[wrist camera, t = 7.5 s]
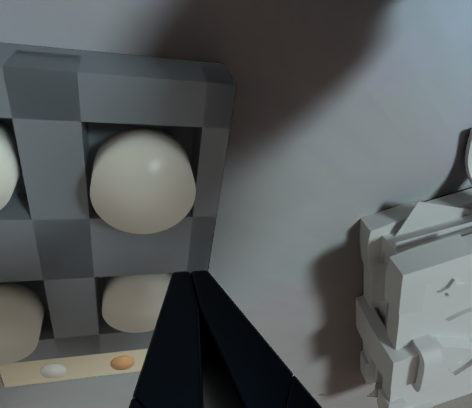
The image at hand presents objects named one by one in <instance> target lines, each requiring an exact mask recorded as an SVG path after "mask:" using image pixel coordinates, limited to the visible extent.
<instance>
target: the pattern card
mask: <svg viewBox="0 0 472 408" xmlns="http://www.w3.org/2000/svg"><path fill="white" fill-rule="evenodd" d="M147 350H148V349H140V350H131V351H121V352H112V353H103V354H93V355H84V356H74V357H65V358H56V359H46V360H37V361H27V362H18V363H10V364H5V365H0V374H1V377H2V380H3V383H4V386H5V387H12V386H21V385H29V384H37V383H45V382H54V381H62V380H70V379H78V378H87V377H95V376H103V375H112V374H120V373H128V372H136V371H141V369H142V366H143V363H144V360H145V357H146V354H147Z"/></svg>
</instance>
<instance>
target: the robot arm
mask: <svg viewBox="0 0 472 408" xmlns="http://www.w3.org/2000/svg"><path fill="white" fill-rule="evenodd" d="M292 376H293V373H292V372H291V371H290V369H289V368H288V367H287V366H286V365H285V363H284V362H283V361H282V360H281V359H280V357H279V356H278V355H277V354H276V353H275V351H274V350H273V349H272V348H271V347H270V345H269V344H268V343H267V342H266V341H265V339H264V338H263V337H262V336H261V335H260V333H259V332H258V331H257V330H256V329H255V327H254V326H253V325H252V324H251V322H250V321H249V320H248V319H247V318H246V316H245V315H244V314H243V313H242V312H241V310H240V309H239V308H238V307H237V306H236V304H235V303H234V302H233V301H232V300H231V298H230V297H229V296H228V295H227V294H226V292H225V291H224V290H223V289H222V288H221V286H220V285H219V284H218V283H217V282H216V280H215V279H214V278H213V277H212V276H211V274H210V273H209V272H208V271H206V270H195V271H191V272H190V273H189V271H176V272H173V273H172V276H171V279H170V282H169V285H168V288H167V291H166V294H165V298H164V301H163V304H162V307H161V310H160V313H159V316H158V319H157V322H156V326H155V329H154V332H153V335H152V338H151V341H150V344H149V347H148V350H147V354H146V357H145V360H144V363H143V366H142V369H141V372H140V375H139V378H138V382H137V385H136V388H135V391H134V394H133V399H132V400H131V403H130V406H129V408H322V407H321V406H320V405H319V404H318V402H317V401H316V400H315V399H314V398H313V397H312V396H311V394H310V393H309V392H308V391H307V390H306V389H305V387H304V386H303V385H302V384H301V383H300V381H299V380H298V379H297V378H296V377H295V376H293V377H292Z"/></svg>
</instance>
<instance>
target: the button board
mask: <svg viewBox="0 0 472 408" xmlns="http://www.w3.org/2000/svg"><path fill="white" fill-rule="evenodd" d="M236 87H237V84H236V83H235V81H234V80H233V78H232V77H231V75H230V74H229V72H228V71H227V69H226V68H225V66H224V64H222V63H212V62H201V61H190V60H180V59H169V58H159V57H148V56H137V55H127V54H116V53H106V52H95V51H84V50H74V49H63V48H52V47H42V46H31V45H21V44H10V43H0V122H1V123H2V124H3V125H4V126H6V127H7V128H8V129H9V130H10V131H11V132H12V134H13V135H14V136H15V137H16V141H17V147H18V152H19V157H20V162H21V167H22V172H21V174H20V177H19V179H18V181H17V184H16V186H15V189H14V191H13V193H12V196H11V198H10V200H9V201H8V203H7V204H6V205H5V206H4V207H3V208H2V209H1V210H0V282H10V283H15V284H19V285H22V286H24V287H27V288H29V289H30V290H32V291H34V292H35V293H36V294H37V295H38V296H39V297H40V298H41V299H42V301H43V303H44V306H45V313H44V317H43V322H42V327H41V332H40V336H39V341H38V345H37V347H36V349H35V350H34V351H33V352H32V353H31V354H30V355H29V356H27V357H26V358H24V359H22V360H19V361H17V362H14V363H18V362H27V361H37V360H46V359H56V358H65V357H74V356H84V355H93V354H103V353H112V352H121V351H131V350H140V349H148V347H149V344H150V341H151V338H152V335H153V332H154V330H152V331H148V332H142V333H129V332H123V331H120V330H117V329H115V328H113V327H111V326H110V325H108V324H107V323H106V321H105V320H104V318H103V316H102V302H103V287H104V280H105V277H109V276H127V275H145V274H163V273H173V272H176V271H189V273H190V272H191V271H195V270H206V271H208V268H209V262H210V255H211V249H212V242H213V236H214V229H215V223H216V216H217V210H218V203H219V197H220V190H221V184H222V178H223V171H224V165H225V158H226V152H227V145H228V139H229V132H230V126H231V119H232V113H233V106H234V100H235V93H236ZM135 127H147V128H154V129H158V130H160V131H163V132H165V133H167V134H169V135H171V136H172V137H174V138H175V139H176V140H177V141H178V142H179V143H180V144H181V145H182V146H183V148H184V149H185V151H186V153H187V155H188V158H189V161H190V165H191V169H192V173H193V177H194V181H195V186H196V196H195V201H194V203H193V206H192V208H191V210H190V211H189V213H188V214H187V215H186V216H185V217H184V218H183V219H182V220H181V221H180V222H179V223H177V224H176V225H174V226H172V227H171V228H169V229H166V230H164V231H160V232H157V233H151V234H134V233H128V232H124V231H121V230H118V229H116V228H114V227H112V226H111V225H109V224H107V223H106V222H105V221H104V220H103V219H102V218H101V217H100V216H99V215H98V214H97V213H96V211H95V209H94V207H93V205H92V202H91V198H90V185H91V178H92V171H93V164H94V158H95V156H96V153H97V151H98V149H99V148H100V146H101V145H102V144H103V143H104V142H105V141H106V140H107V139H108V138H109V137H111V136H112V135H114V134H116V133H117V132H120V131H122V130H125V129H129V128H135Z"/></svg>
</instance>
